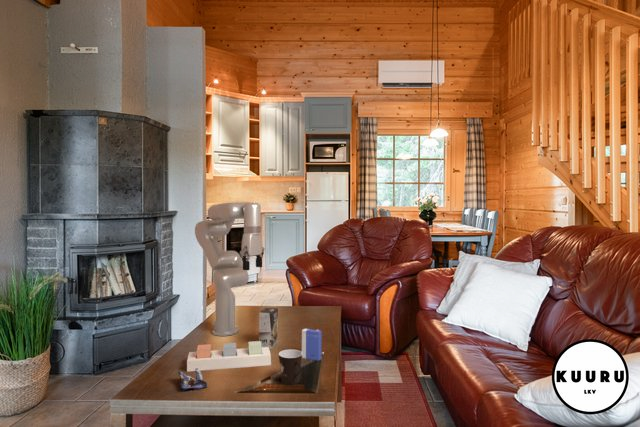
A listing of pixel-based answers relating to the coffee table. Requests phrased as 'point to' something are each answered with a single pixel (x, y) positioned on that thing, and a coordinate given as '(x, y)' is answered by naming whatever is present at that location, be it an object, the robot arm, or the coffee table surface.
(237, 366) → the button console
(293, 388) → the coffee table surface
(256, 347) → the sage-green button
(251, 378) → the coffee table surface
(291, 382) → the coffee mug
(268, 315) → the coffee box
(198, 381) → the snack package
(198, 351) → the terracotta button
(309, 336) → the walkman
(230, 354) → the slate-grey button
